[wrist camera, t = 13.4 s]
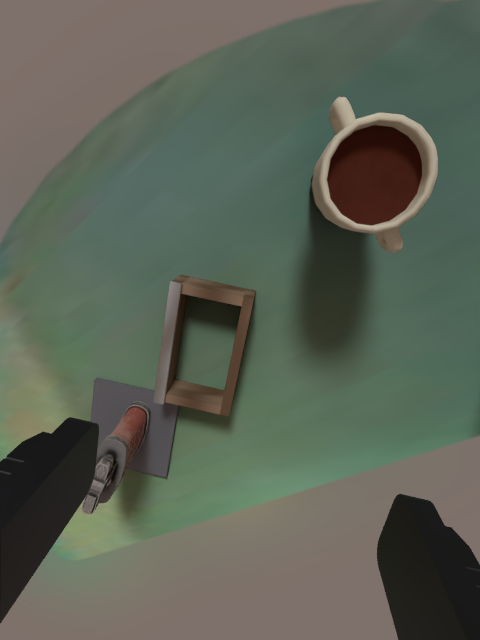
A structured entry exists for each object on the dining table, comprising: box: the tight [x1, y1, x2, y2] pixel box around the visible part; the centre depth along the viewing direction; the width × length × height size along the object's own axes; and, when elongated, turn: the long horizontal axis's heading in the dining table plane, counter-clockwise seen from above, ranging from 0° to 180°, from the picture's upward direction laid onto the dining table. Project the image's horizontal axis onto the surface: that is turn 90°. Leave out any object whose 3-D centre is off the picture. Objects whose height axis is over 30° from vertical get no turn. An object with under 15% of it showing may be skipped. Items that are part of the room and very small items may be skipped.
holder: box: [153, 275, 256, 417], centre depth 39 cm, size 8×13×4 cm, turn 169°
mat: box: [91, 378, 179, 478], centre depth 45 cm, size 10×11×1 cm
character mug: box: [310, 97, 438, 252], centre depth 29 cm, size 11×7×13 cm, turn 26°
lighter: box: [82, 402, 151, 514], centre depth 40 cm, size 8×3×10 cm, turn 158°
